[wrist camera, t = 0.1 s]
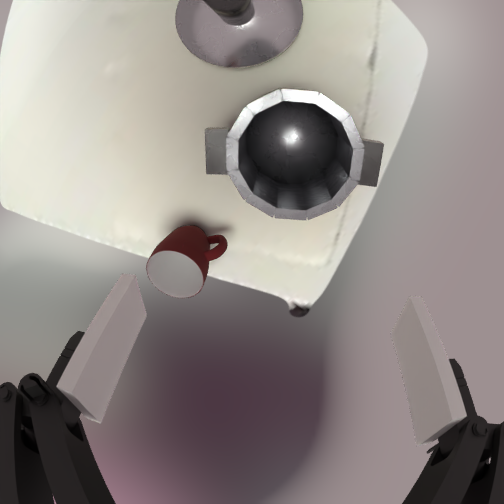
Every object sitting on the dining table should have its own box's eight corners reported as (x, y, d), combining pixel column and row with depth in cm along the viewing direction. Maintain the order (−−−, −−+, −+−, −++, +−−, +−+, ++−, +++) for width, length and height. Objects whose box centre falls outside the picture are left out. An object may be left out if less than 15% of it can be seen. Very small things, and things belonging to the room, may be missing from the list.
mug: (216, 198, 40) (199, 233, 32) (241, 242, 44) (232, 284, 36) (160, 225, 44) (134, 261, 35) (186, 263, 47) (168, 304, 39)
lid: (184, -24, 22) (149, -54, 12) (301, -28, 21) (309, -66, 11) (181, 71, 30) (142, 69, 21) (299, 70, 29) (309, 64, 20)
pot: (220, 86, 31) (202, 88, 24) (367, 98, 30) (392, 104, 23) (221, 186, 39) (206, 214, 32) (353, 195, 38) (370, 225, 31)
